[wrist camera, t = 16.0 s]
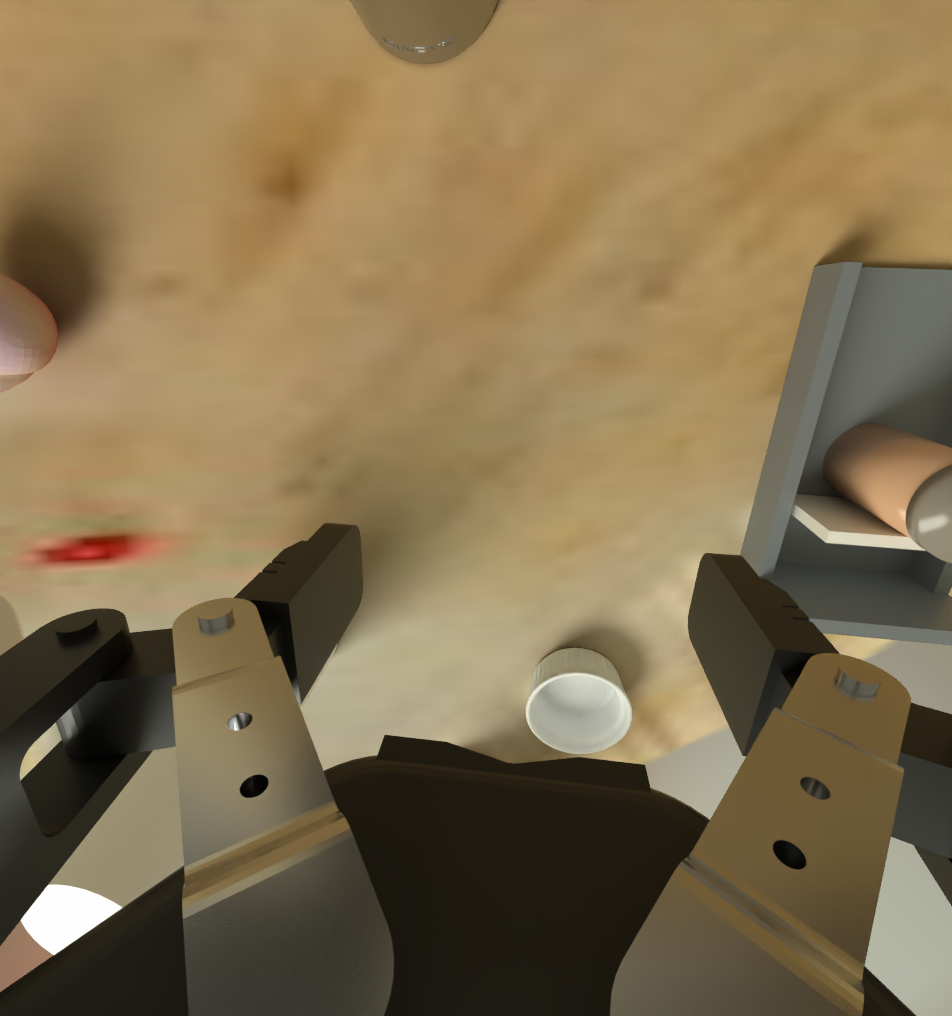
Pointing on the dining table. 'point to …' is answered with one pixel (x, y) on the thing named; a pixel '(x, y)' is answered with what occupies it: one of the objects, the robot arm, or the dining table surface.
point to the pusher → (847, 523)
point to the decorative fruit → (23, 333)
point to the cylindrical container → (117, 855)
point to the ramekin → (578, 702)
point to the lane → (834, 410)
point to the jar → (896, 482)
